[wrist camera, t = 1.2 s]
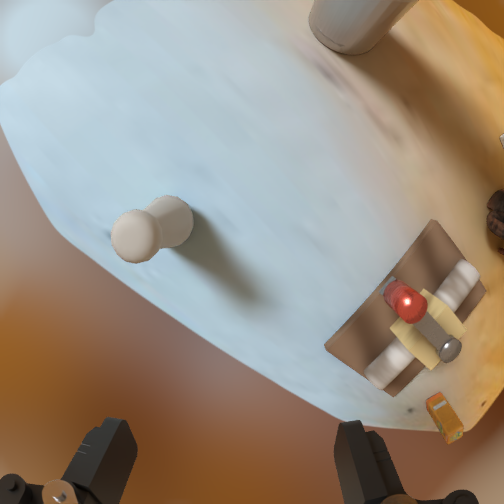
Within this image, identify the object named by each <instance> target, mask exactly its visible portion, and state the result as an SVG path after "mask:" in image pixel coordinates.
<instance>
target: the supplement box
mask: <svg viewBox="0 0 504 504" xmlns="http://www.w3.org/2000/svg"><path fill="white" fill-rule="evenodd" d="M426 404H427V410H428V412H429V414H430V415H431V417H432V419H433V420H434V422H435V424H436V425H437V427H438V429H439V431H440V432H441V434H442V436H443V437H444V439H445V441H446V442H447V444H450V443H452V442H454V441H456V440H457V439H459V438H460V437H462V436H463V429H464V425H463V424H462V422H461V421H460V419H459V418H458V416H457V415H456V413H455V412H454V410H453V409H452V407H451V406H450V404H449V403H448V402H447V400H446V399H445V397H444V396H443V395H442V393H441V392H439V393H437V394H435V395H434V396H432V397H430V398H429V399H427V400H426Z"/></svg>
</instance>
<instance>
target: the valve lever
mask: <svg viewBox="0 0 504 504" xmlns="http://www.w3.org/2000/svg"><path fill="white" fill-rule="evenodd" d="M378 292H379V293H380V294H382V295H383V297H384V301H385V302H386V304H387V305H388V306H389V307H391V308H392V309H393V310H394V311H395V312H396V313H397V314H398V315H399V316H400V317H401V318H402V319H403V320H404V321H405V322H406V323H408V324H413V325H414V326H415V327H416V328H417V329H418V330H419V331H420V332H421V333H422V334H423V335H424V336H425V337H426V338H427V339H428V340H429V341H430V342H431V343H432V344H433V345H434V346H435V347H436V354H437V356H438V357H439V358H440V359H441V360H442V361H443V362H445V363H449V362H451V361H453V360H454V359H455V358H456V357H457V356H458V355H459V353H460V351H461V347H462V345H461V342H460V341H459V340H458V339H457V338H456V337H454V336H453V335H451V334H449V335H448V334H447V333H446V332H445V330H444V329H443V328H442V327H441V326H440V325H439V324H438V323H437V321H436V320H435V319H434V318H433V317H432V316H431V315H430V314H429V313H428V312H427V308H428V303H427V300H426V298H425V297H424V296H422V295H421V294H420V293H418V292H417V291H416V290H414V289H413V288H411V287H410V286H409V285H407V284H406V283H405V282H403V281H401V280H397V279H396V278H395V277H393V276H391V277H390V279H389V280H388V281H387V282H386V283H385V284H384V286H383V287H382V288H381V289H380V290H379V291H378Z"/></svg>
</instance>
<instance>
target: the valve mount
mask: <svg viewBox="0 0 504 504" xmlns="http://www.w3.org/2000/svg"><path fill="white" fill-rule="evenodd" d="M391 276H393V277H395V278H396V279H397V280H401V281H403V282H405V283H406V284H407V285H409V286H410V287H411V288H413V289H414V290H416V291H417V292H418V293H420V294H421V295H422V296H424V297H425V298H426V300H427V303H428V308H427V312H428V313H429V314H430V315H431V316H432V317H433V318H434V319H435V320H436V321H437V323H438V324H439V325H440V326H441V327H442V328H443V329H444V330H445V332H446V333H447V334H448V335H449V334H451V335H453V336H454V337H456V338H457V339H458V340H459V339H460V338H461V336H462V335H463V334H464V333H465V331H466V330H467V329H466V328H465V327H464V325H463V324H462V323H463V322H464V321H465V319H466V318H467V317H468V315H469V314H470V313H471V312H472V310H473V309H474V308H475V306H476V305H477V303H478V302H479V301H480V299H481V298H482V296H483V295H484V294H485V292H486V289H485V288H484V286H483V284H482V283H481V281H480V280H479V279H480V274H479V272H478V271H477V270H476V269H475V268H474V267H473V266H472V265H471V264H470V263H469V262H467V260H466V259H465V258H464V256H463V255H462V253H461V252H460V250H459V249H458V248H457V246H456V245H455V244H454V242H453V241H452V240H451V238H450V237H449V236H448V234H447V233H446V232H445V230H444V229H443V228H442V227H441V225H440V224H439V223H438V221H436V220H432V219H431V220H430V222H429V223H428V224H427V226H426V227H425V228H424V230H423V231H422V232H421V234H420V235H419V236H418V238H417V239H416V240H415V242H414V243H413V244H412V245H411V247H410V248H409V249H408V251H407V252H406V253H405V254H404V256H403V257H402V258H401V259H400V261H399V262H398V263H397V264H396V266H395V267H394V268H393V269H392V270H391V272H390V273H389V274H388V275H387V276H386V278H385V279H384V280H383V281H382V282H381V283H380V285H379V286H378V287H377V288H376V289H375V290H374V292H373V293H372V294H371V295H370V296H369V297H368V298H367V300H366V301H365V302H364V303H363V304H362V305H361V306H360V307H359V308H358V309H357V311H356V312H355V313H354V314H353V315H352V316H351V317H350V318H349V319H348V320H347V321H346V322H345V323H344V325H343V326H342V327H341V328H340V329H339V330H338V331H337V332H336V333H335V334H334V335H333V336H332V337H331V338H330V339H329V340H328V341H327V342H326V343H325V344H324V346H325V349H326V351H328V352H329V353H331V354H332V355H333V356H335V357H336V358H338V359H339V360H340V361H342V362H343V363H345V364H346V365H348V366H349V367H350V368H352V369H353V370H355V371H356V372H358V373H359V374H360V375H362V376H363V377H365V378H366V379H368V380H369V381H370V382H371V383H372V384H373V385H374V386H375V387H377V388H378V389H380V390H384V391H385V392H387V393H388V394H389V395H391V396H392V397H394V396H395V395H396V394H397V393H398V392H399V391H401V390H402V389H403V388H404V387H405V386H406V385H407V384H408V383H409V382H410V381H411V380H412V379H413V378H414V377H415V376H416V375H417V374H418V373H419V372H420V371H421V370H422V369H423V368H424V367H425V366H426V367H427V368H428V369H430V370H432V369H433V368H434V367H435V366H436V365H437V364H438V363H439V362H440V361H441V359H440V358H439V357H438V356H437V354H436V347H435V346H434V345H433V344H432V343H431V342H430V341H429V340H428V339H427V338H426V337H425V336H424V335H423V334H422V333H421V332H420V331H419V330H418V329H417V328H416V327H415V326H414V325H413V324H408V323H406V322H405V321H404V320H403V319H402V318H401V317H400V316H399V315H398V314H397V313H396V312H395V311H394V310H393V309H392V308H391V307H389V306H388V305H387V304H386V302H385V301H384V297H383V295H382V294H380V293H379V292H378V291H379V290H380V289H381V288H382V287H383V286H384V284H385V283H386V282H387V281H388V280H389V279H390V277H391Z"/></svg>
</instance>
